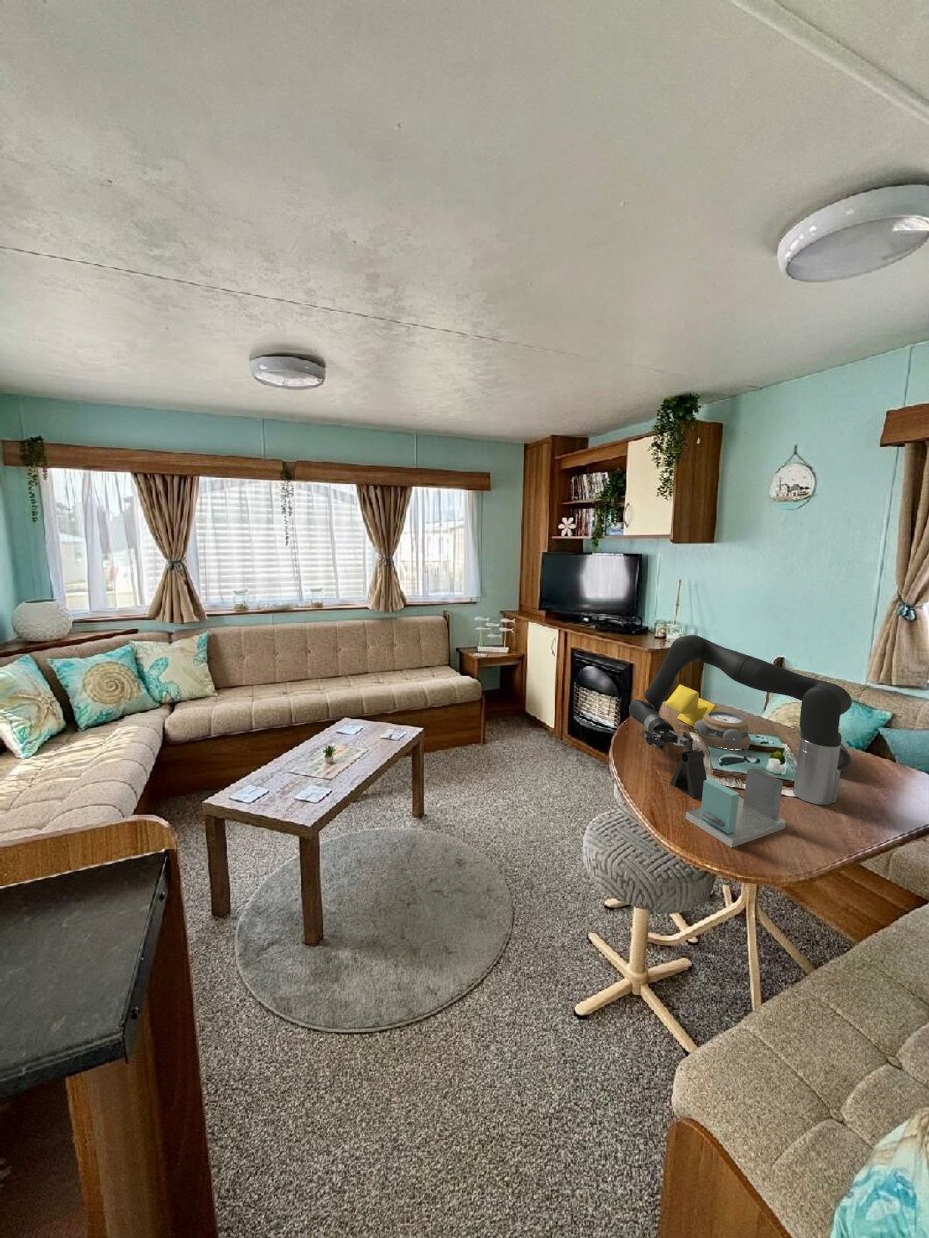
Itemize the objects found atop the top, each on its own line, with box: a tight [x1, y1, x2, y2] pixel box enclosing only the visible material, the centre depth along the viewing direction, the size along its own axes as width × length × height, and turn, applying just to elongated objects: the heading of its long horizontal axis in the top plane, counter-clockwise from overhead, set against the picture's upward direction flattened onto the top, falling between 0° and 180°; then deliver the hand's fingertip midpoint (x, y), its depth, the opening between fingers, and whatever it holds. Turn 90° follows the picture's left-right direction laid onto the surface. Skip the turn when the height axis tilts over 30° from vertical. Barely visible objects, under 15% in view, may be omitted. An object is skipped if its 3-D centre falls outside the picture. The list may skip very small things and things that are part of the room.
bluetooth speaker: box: [799, 729, 852, 772], centre depth 164 cm, size 23×9×10 cm, turn 160°
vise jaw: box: [700, 778, 740, 834], centre depth 122 cm, size 8×4×10 cm, turn 25°
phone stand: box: [669, 748, 708, 799], centre depth 144 cm, size 9×6×12 cm, turn 21°
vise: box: [685, 767, 787, 849], centre depth 127 cm, size 14×20×12 cm
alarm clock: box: [693, 711, 751, 750], centre depth 177 cm, size 17×9×23 cm
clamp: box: [664, 683, 721, 729], centre depth 196 cm, size 14×25×12 cm
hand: (676, 748), depth 155 cm, fingers open, 8 cm apart
